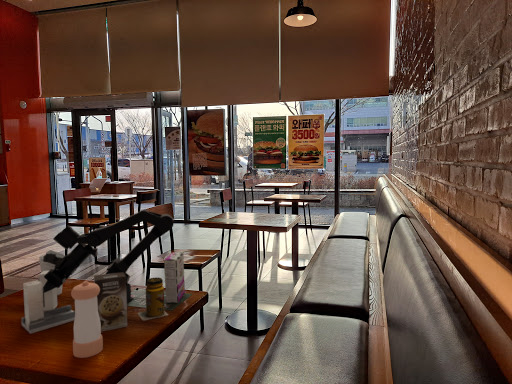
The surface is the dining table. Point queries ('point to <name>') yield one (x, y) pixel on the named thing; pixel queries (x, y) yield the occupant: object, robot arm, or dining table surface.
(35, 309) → the grey and white holder
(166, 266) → the candy bar box
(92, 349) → the pepper shaker
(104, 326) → the coffee box
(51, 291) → the finger
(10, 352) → the dining table surface
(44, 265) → the cup
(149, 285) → the condiment
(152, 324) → the dining table surface
